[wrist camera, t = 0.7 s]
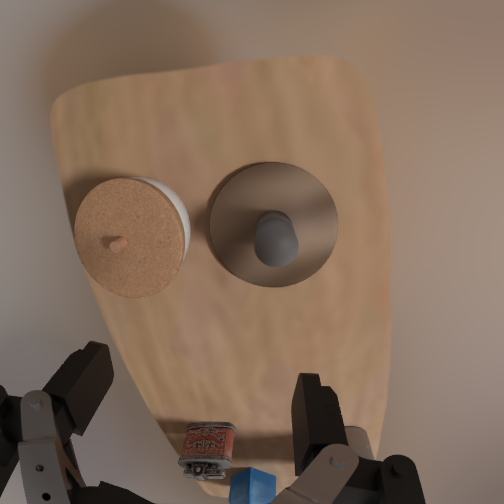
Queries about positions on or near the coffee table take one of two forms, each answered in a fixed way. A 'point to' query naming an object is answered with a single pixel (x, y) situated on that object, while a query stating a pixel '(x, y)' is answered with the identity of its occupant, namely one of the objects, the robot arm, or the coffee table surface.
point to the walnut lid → (273, 224)
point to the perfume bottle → (252, 487)
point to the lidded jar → (132, 235)
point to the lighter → (207, 450)
